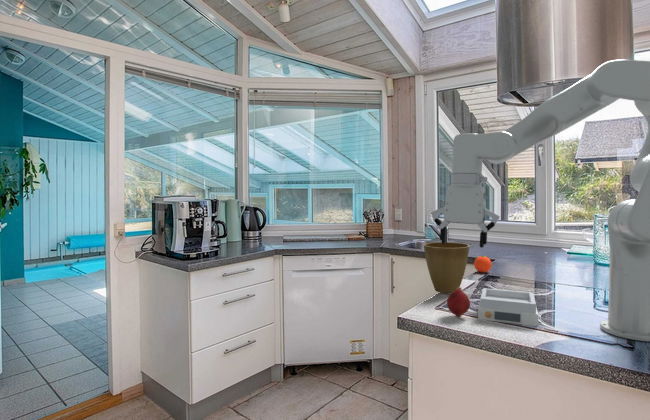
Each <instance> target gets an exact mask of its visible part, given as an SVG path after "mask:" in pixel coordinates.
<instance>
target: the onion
mask: <svg viewBox="0 0 650 420" xmlns="http://www.w3.org/2000/svg"><path fill="white" fill-rule="evenodd" d="M446 304H447V305H446V306H447V307H448V310H449V311H450V312H451V313H452V314H453V315H455V316H456V317H458V318H460V317H462V316H463V315H464V314H466V313H467V312H469V309H470V307H471V301H470V299H469V297H468V295H467V294H466V293H465V292H464V291H462V287H461V286H460V287H458V288H457V289H456V290H455V291H453V292H452V293H451V294H449V295H448V297H447V299H446Z"/></svg>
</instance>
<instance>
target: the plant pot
mask: <svg viewBox="0 0 650 420" xmlns="http://www.w3.org/2000/svg"><path fill="white" fill-rule="evenodd" d="M423 249H424V256H425V257H424V258H425V261H426V266H427V269H428V273H429V276H430V280H431V282H432V285H433V288H434V291H435V292H437V293H441V294H449V295H450V294H451V293H452V292H453V291H455V290H456V289H457V288H458V287H461V284H462V282H463V279H464V276H465V273H466V268H467V263H468V258H469V253H470V244H467V243H462V242H454V241H453V242H450V241H447V243H445V244H442V241H441V242H440V241H439V242H427V243H424V244H423Z"/></svg>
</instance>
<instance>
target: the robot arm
mask: <svg viewBox="0 0 650 420" xmlns="http://www.w3.org/2000/svg"><path fill="white" fill-rule="evenodd" d="M619 99H621V100H627V101H633V102H634V106H635V107H636V109H637V110H638V111H639V112H640V113H641V114H642V116H643V117H644V118H645V120H646V122H647V134H646V136H645V139H644V143H643V145H642V147H641V150H640V151H639V154H638V157H637V158H636V161H635V164H634V166H633V168H632V170H631V172H630V177H629V181H630V185H631V187H632V188H633V189H634V190H635V191H636V192H637V195H636V198H634V199H627V200H623V201H621V202H619V203H617V204H616V205H615V206H613V208H612V209H611V210H610V212H609V214H608V218H607V232H608V241H609V267H608V268H609V270H608V271H609V276H608V277H609V278H608V305H607V306H608V308H607V309H608V313H607V314H608V316H607V319H605V320H602V321H601V322H600V323H599V327H600V329H601V330H602V331H604V332H605V333H608V334H610V335H613V336H616V337H620V338H623V339H628V340H633V341H638V342H639V341H640V342H648V343H649V342H650V60H649V61H648V60H636V59H613V60H609V61H605V62H604V63H602V64H601V65H599V66H598V67H597V68H596V69H595V70H593V72H592V73H591V74H589V75H587V76H586V77H584V78H582V79H580V80H579V81H577V82H575V83H574V84H573V85H571V86H569V87H567V88H566V89H564V90H562V91H560V92H559V93H557V94H555V95H553V96H552V97H550V98H548V99H547V100H544V101H543V102H542V103H541V104H539V105H538V106H537V107H536V108H535V109H533V110H532V111H531V112H530V113H528V114H527V116H524V118H523V119H522V118H521V120H520V121H518V122H517V123H515V124H513V125H512V126H510V127H508V128H506V129H504V130H503V131H493V132H487V133H473V132H472V133H471V132H469V133H467V132H466V133H465V132H464V133H459V134H456V135H455V136H454V137H453V143H452V159H451V160H452V161H451V163H452V164H451V183H450V185H448V186H447V191H446V194H445V195H446V196H445V202H444V206H443V207H439V208H438V209H436V210H433V211H432V212H431V213H430V215H431V217H432V219H433V221H434V223H435V224H436V226H438V228H439V229H440V233H439V234H440V235H439V240H440V241H441V242H442V244H445V243H447V242H448V228H447V227H448V225H450V223H452V224H464V225H465V224H466V225H477V226H478V227H479V229H480V230H481V232H480V233H479V247H480V248H484V247H485V245H487V243H488V232H489V231H490V230H491V229H493V228H494V227H495V226H496V224H497V223H498V222H499V220H500V217H501V216H500V215H498V214H497V213H495V212H493V211H492V210H489V209H487V207H486V206H487V205H486V204H487V202H486V190H485V186H483V185H482V184H483V183H488V176H484V175H483V173H482V172H483V161H484V160H486V161H487V162H490V163H491V164H494V165H498V164H503V163H505V162H507V161H508V160H511V159H512V158H514V157H516V156H518V155H519V154H521V153H523V152H525V151H526V150H529V149H530V148H532V147H534V146H535V145H537V144H539V143H541V142H543V141H546V140H548V139H550V138H552V137H555V136H556V135H558V134H560V133H562V132H563V131H566V130H567V129H569V128H570V127H572V126H574V125H576V124H578V123H580V122H581V121H583V120H584V119H587V118H588V117H590V116H592V115H594V114H596V113H597V112H599V111H601V110H603V109H604V108H606V107H607V106H610V105H611V104H614V103H615V102H616V101H619ZM442 213H443V221H442V220H441V219H440V217H439V215H440V214H442ZM486 216H488V217H490V218H491V219H492V220H491V221H490V222H489V223H488V224H487V225H486V223H485V222H486Z"/></svg>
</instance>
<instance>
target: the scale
mask: <svg viewBox="0 0 650 420" xmlns="http://www.w3.org/2000/svg"><path fill="white" fill-rule="evenodd" d="M481 290H482V291H481V295H480V300H479V303H478V307H477V320H483V321H491V322H499V323H508V324H516V325H524V326H533V327H538V326H539V312H538V309H537V302H536V298H535V295H534V292H530V291H520V290H510V289H509V290H507V289H498V288H497V289H496V288H486V287H482V289H481Z"/></svg>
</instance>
